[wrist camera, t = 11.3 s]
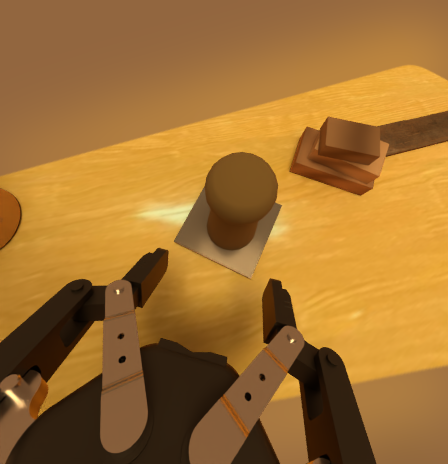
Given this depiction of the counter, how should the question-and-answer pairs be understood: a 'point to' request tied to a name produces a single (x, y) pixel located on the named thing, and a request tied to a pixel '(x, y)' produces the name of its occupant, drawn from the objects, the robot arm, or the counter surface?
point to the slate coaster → (200, 242)
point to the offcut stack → (341, 155)
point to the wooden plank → (415, 133)
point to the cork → (238, 198)
